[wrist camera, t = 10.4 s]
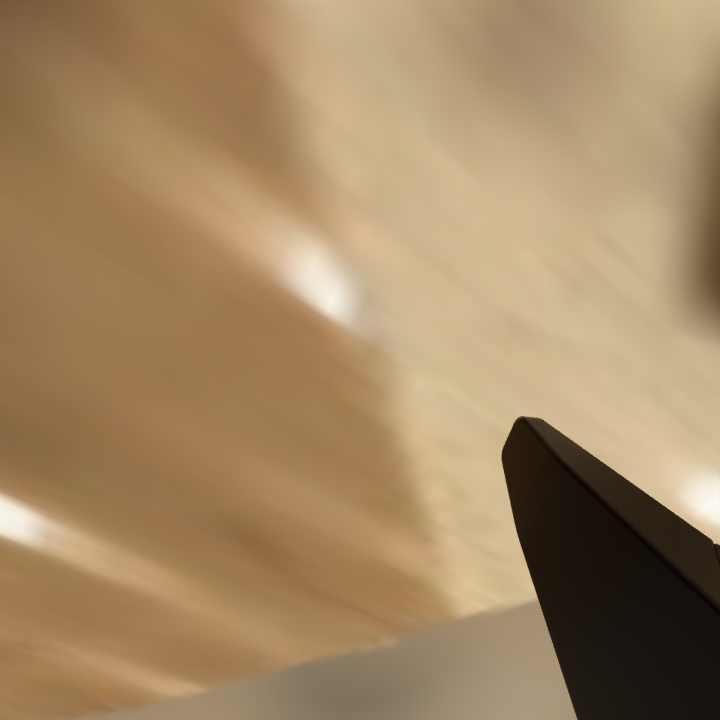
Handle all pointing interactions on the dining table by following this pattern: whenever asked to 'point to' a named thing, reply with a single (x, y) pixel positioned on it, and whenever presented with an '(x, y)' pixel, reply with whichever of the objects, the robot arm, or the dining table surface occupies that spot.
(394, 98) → the dining table surface
